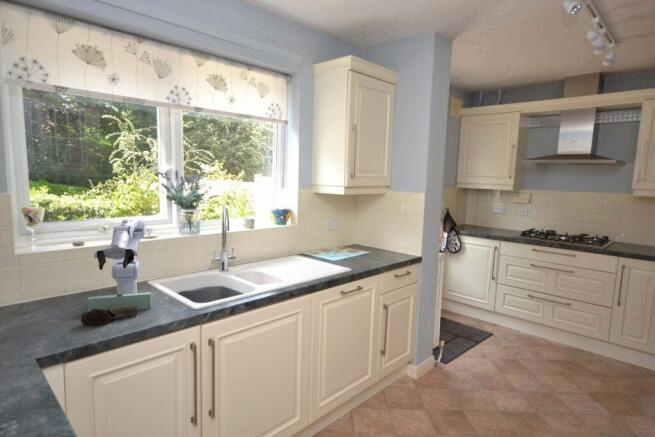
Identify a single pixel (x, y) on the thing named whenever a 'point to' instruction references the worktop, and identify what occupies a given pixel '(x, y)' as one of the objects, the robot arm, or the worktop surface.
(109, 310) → the dark brown elongated lump
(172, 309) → the worktop surface
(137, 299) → the block
